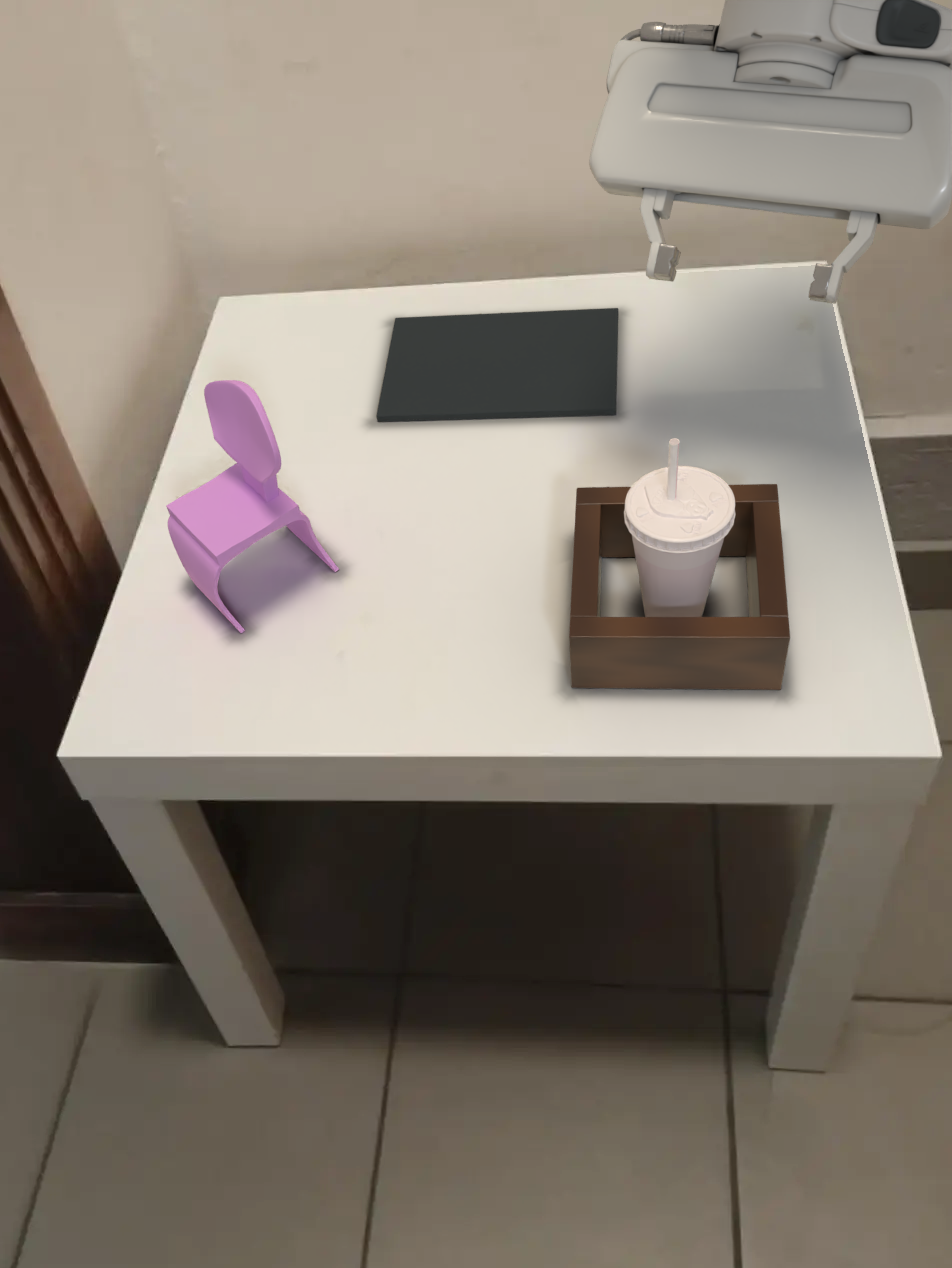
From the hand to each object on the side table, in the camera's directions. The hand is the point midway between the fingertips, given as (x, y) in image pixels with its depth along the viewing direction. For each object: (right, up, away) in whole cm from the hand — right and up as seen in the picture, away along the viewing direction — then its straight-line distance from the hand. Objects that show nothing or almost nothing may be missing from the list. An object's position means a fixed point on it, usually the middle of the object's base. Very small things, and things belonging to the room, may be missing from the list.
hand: (738, 289), depth 71 cm
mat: (-12, +3, +25) cm, 27 cm away
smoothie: (-2, -18, +8) cm, 20 cm away
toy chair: (-29, -15, +15) cm, 36 cm away
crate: (-2, -18, +8) cm, 20 cm away
